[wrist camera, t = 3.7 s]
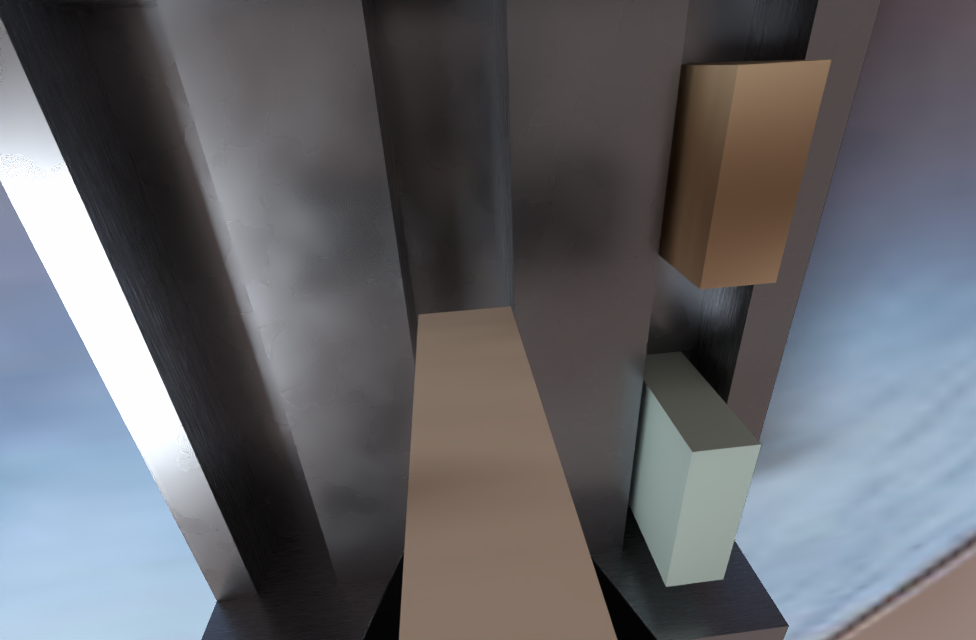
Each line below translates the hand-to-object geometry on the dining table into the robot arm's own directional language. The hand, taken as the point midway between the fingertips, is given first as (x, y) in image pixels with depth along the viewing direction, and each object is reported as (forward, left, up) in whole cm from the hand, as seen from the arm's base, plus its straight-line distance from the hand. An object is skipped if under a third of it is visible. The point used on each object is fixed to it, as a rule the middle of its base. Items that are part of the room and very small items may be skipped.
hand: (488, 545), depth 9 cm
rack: (0, 0, -10) cm, 10 cm away
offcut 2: (-5, -7, -9) cm, 12 cm away
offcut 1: (+5, -7, -9) cm, 12 cm away
